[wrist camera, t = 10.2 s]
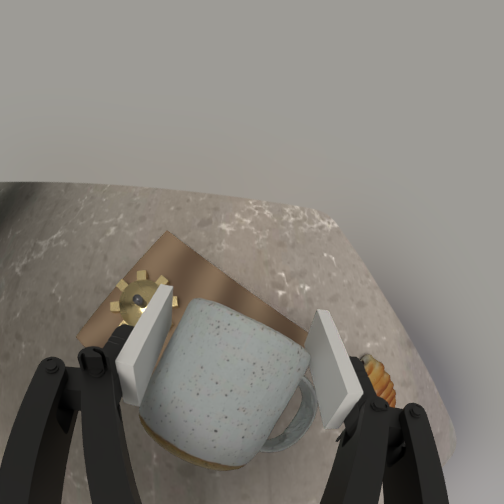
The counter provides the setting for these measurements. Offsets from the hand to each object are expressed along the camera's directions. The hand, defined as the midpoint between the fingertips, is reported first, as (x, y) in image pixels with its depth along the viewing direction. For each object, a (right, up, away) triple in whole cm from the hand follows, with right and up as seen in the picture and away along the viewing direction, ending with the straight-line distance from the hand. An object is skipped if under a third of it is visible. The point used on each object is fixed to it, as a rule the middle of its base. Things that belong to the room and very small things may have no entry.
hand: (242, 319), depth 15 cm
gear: (-12, -2, +14) cm, 18 cm away
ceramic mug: (0, -6, +2) cm, 6 cm away
